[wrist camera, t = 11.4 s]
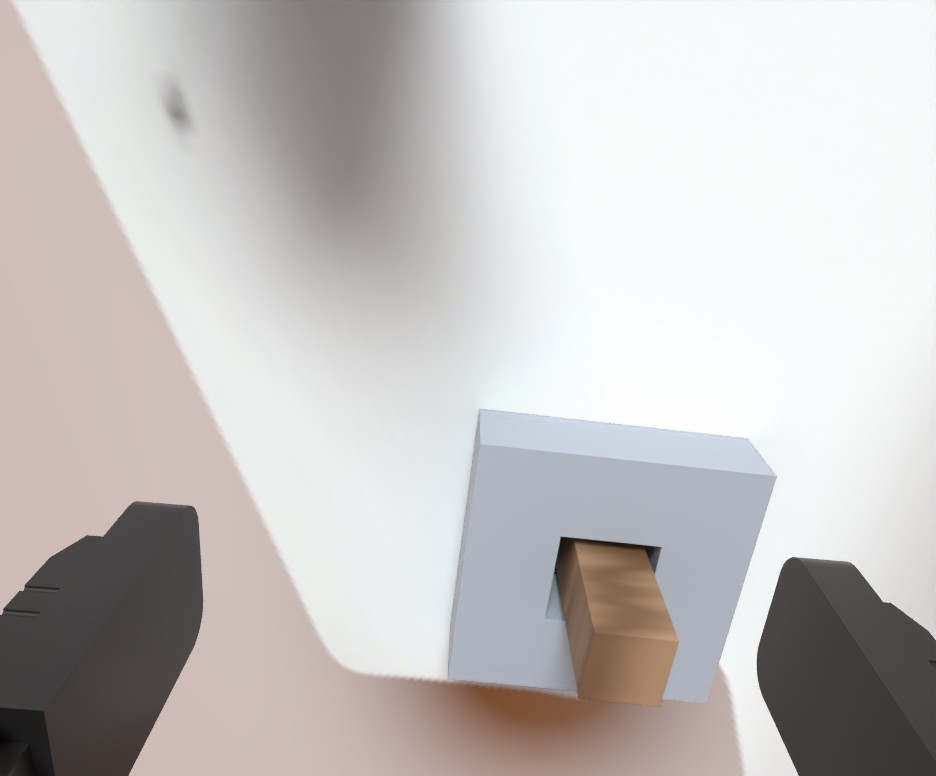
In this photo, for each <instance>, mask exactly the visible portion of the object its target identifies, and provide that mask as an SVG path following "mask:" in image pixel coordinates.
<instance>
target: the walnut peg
mask: <svg viewBox="0 0 936 776" xmlns="http://www.w3.org/2000/svg"><path fill="white" fill-rule="evenodd" d="M555 565H556V571H557V576H558V582H559V588H560V594H561V599H562V605H563V611H564V617H565V622H566V628H567V634H568V640H569V646H570V651H571V657H572V663H573V669H574V674H575V680H576V686H577V692H578V698H579V699H589V700H599V701H609V702H618V703H627V704H637V705H646V706H656V707H660V705H661V701H662V698H663V695H664V692H665V688H666V685H667V682H668V678H669V675H670V671H671V668H672V665H673V661H674V658H675V655H676V651H677V648H678V644H679V639H678V637H677V634H676V631H675V629H674V626H673V623H672V621H671V618H670V615H669V612H668V610H667V607H666V604H665V602H664V599H663V596H662V594H661V591H660V588H659V586H658V583H657V580H656V577H655V575H654V572H653V569H652V567H651V564H650V561H649V559H648V556H647V553H646V551H645V548H644V545H638V544H629V543H619V542H610V541H600V540H590V539H581V538H571V537H562V536H561V538H560V543H559V548H558V553H557V559H556V564H555Z"/></svg>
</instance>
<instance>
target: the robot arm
mask: <svg viewBox="0 0 936 776" xmlns="http://www.w3.org/2000/svg"><path fill="white" fill-rule="evenodd" d="M200 557H201V556H200V540H199V523H198V516H197V512H196V510H195V508H194V507H193V506H187V505H175V504H163V503H151V502H139V501H137V502H133V503H132V504H131V505H130V506H129V507H128V508H127V509H126V510H125V511H124V513H123V514H122V515H121V516H120V517H119V518H118V520H117V521H116V522H115V523H114V525H113V526H112V527H111V528H110V529H109V531H108V532H107V533H106V534H105V535H104V537H101V536H88V535H87V536H85V537H84V538H82V539H80V540H79V541H77V542H75V543H74V544H72V545H71V546H69V547H67V548H65V549H64V550H62V551H60V552H59V553H57V554H55V555H54V556H52V557H50V558H49V559H48V560H47V561H46V563H45V564H44V565H43V566H42V567H41V568H40V569H39V571H37V573H35V575H34V576H33V577H32V578H31V579H30V580H29V581H28V582H27V583H26V585H25V589H24V591H19V592H18V593H17V594H16V596H15V597H14V598H13V599H12V600H11V601H10V602H9V603H8V604H7V605H6V607H5V608H4V609H3V610H4V611H3V614H2V615H0V776H128V775H129V773H130V771H131V769H132V767H133V765H134V763H135V761H136V759H137V758H138V755H139V753H140V752H141V750H142V748H143V746H144V744H145V742H146V740H147V738H148V736H149V734H150V732H151V730H152V728H153V726H154V724H155V722H156V720H157V718H158V716H159V714H160V712H161V710H162V708H163V706H164V705H165V703H166V701H167V699H168V697H169V695H170V692H171V691H172V689H173V687H174V685H175V683H176V681H177V679H178V677H179V675H180V673H181V671H182V669H183V667H184V665H185V663H186V661H187V659H188V657H189V655H190V653H191V651H192V649H193V647H194V645H195V642H196V639H197V636H198V633H199V629H200V623H201V619H202V610H203V590H202V574H201V558H200ZM757 675H758V682H759V687H760V690H761V693H762V696H763V698H764V700H765V703H766V705H767V707H768V709H769V711H770V713H771V716H772V718H773V720H774V722H775V724H776V727H777V729H778V731H779V733H780V735H781V738H782V740H783V742H784V744H785V746H786V748H787V751H788V753H789V755H790V757H791V759H792V762H793V764H794V766H795V768H796V770H797V772H798V775H799V776H936V640H935V639H934V638H933V636H932V635H931V634H930V633H929V631H927V630H926V629H925V628H923V627H922V626H921V625H919V624H918V623H917V622H915V621H914V620H913V619H911V618H910V617H909V616H907V615H906V614H905V613H904V612H902V611H901V610H900V609H898V608H897V607H896V606H894V605H893V604H892V603H884V602H882V600H881V599H880V598H879V596H878V595H877V594H876V592H875V591H874V590H873V589H872V587H871V586H870V585H869V583H868V582H867V581H866V580H865V578H864V577H863V576H862V574H861V573H860V572H859V570H858V569H857V568H856V567H855V566H854V565H853V564H851V563H849V562H844V561H832V560H820V559H808V558H796V557H792V558H790V559H788V560H787V561H786V562H785V563H784V565H783V567H782V569H781V572H780V575H779V579H778V582H777V585H776V589H775V592H774V596H773V599H772V602H771V606H770V609H769V613H768V616H767V619H766V623H765V626H764V629H763V633H762V636H761V640H760V643H759V647H758V653H757Z"/></svg>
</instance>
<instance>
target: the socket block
mask: <svg viewBox="0 0 936 776" xmlns="http://www.w3.org/2000/svg"><path fill="white" fill-rule="evenodd" d="M776 477H777V476H776V474H775V473H774V472H773V471H772V469H771V468H770V467H769V465H768V464H767V463H766V462H765V460H764V459H763V458H762V456H761V455H760V454H759V453H758V451H757V450H756V449H755V447H754V446H753V445H752V444H751V442H750V441H749V440H748V439H746V438H737V437H728V436H719V435H710V434H701V433H692V432H683V431H674V430H665V429H656V428H647V427H638V426H629V425H620V424H611V423H602V422H593V421H584V420H575V419H566V418H557V417H547V416H538V415H529V414H520V413H511V412H502V411H493V410H484V409H480V410H479V417H478V425H477V432H476V439H475V447H474V454H473V461H472V469H471V476H470V484H469V491H468V498H467V506H466V513H465V520H464V528H463V535H462V543H461V550H460V557H459V565H458V572H457V579H456V587H455V594H454V601H453V609H452V616H451V624H450V638H449V662H448V679H455V680H466V681H476V682H486V683H497V684H507V685H518V686H528V687H538V688H549V689H559V690H570V691H577V686H576V680H575V674H574V669H573V663H572V657H571V651H570V646H569V640H568V634H567V628H566V622H565V617H564V611H563V605H562V599H561V594H560V588H559V582H558V576H557V574H555V573H554V569H555V564H556V559H557V553H558V548H559V543H560V538H561V536H562V537H571V538H581V539H590V540H600V541H610V542H619V543H629V544H638V545H644V548H645V551H646V553H647V556H648V559H649V561H650V564H651V567H652V569H653V572H654V575H655V577H656V580H657V583H658V586H659V588H660V591H661V594H662V596H663V599H664V602H665V604H666V607H667V610H668V612H669V615H670V618H671V621H672V623H673V626H674V629H675V631H676V634H677V637H678V639H679V644H678V648H677V651H676V655H675V658H674V661H673V665H672V668H671V671H670V675H669V678H668V682H667V685H666V688H665V692H664V695H663V698H662V699H663V700H674V701H684V702H695V703H705V704H706V702H707V699H708V696H709V693H710V689H711V686H712V683H713V680H714V677H715V673H716V670H717V667H718V664H719V660H720V657H721V654H722V651H723V648H724V644H725V641H726V638H727V635H728V632H729V628H730V625H731V622H732V619H733V615H734V612H735V609H736V606H737V603H738V599H739V596H740V593H741V590H742V587H743V583H744V580H745V577H746V574H747V570H748V567H749V564H750V561H751V558H752V554H753V551H754V548H755V545H756V541H757V538H758V535H759V532H760V529H761V525H762V522H763V519H764V516H765V513H766V509H767V506H768V503H769V500H770V496H771V493H772V490H773V487H774V484H775V480H776Z"/></svg>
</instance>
